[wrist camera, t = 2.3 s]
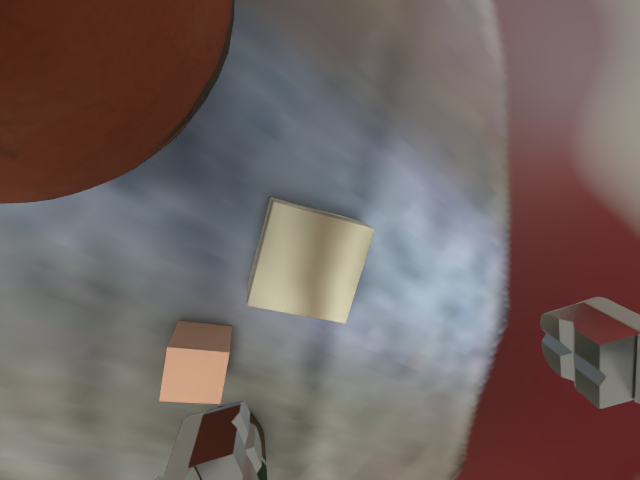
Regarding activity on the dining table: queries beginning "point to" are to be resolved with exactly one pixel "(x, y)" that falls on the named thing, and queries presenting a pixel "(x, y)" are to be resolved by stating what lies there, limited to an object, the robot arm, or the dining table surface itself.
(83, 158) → the goblet
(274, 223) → the birch block
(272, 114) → the dining table surface
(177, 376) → the terracotta cube
